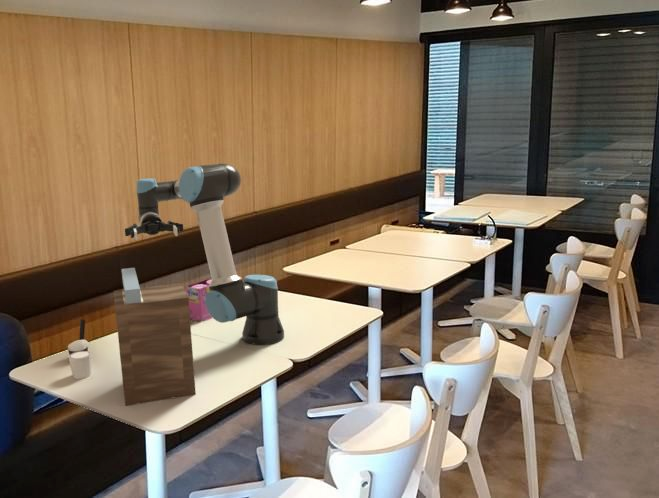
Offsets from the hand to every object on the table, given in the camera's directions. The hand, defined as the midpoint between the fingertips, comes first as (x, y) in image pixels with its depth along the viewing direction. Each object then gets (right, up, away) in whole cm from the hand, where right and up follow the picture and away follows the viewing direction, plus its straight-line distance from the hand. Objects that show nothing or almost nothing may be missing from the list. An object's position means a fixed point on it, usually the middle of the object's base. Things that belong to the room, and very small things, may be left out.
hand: (156, 234), depth 227 cm
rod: (+1, -18, -32) cm, 37 cm away
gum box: (+13, -31, +42) cm, 54 cm away
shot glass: (-19, -46, -17) cm, 52 cm away
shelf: (+8, -48, -28) cm, 56 cm away
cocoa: (-25, -43, -3) cm, 50 cm away
